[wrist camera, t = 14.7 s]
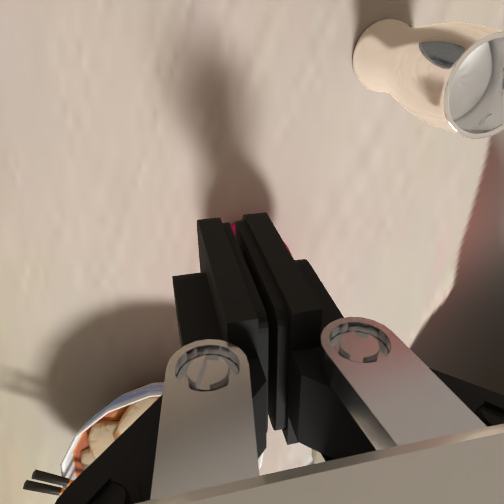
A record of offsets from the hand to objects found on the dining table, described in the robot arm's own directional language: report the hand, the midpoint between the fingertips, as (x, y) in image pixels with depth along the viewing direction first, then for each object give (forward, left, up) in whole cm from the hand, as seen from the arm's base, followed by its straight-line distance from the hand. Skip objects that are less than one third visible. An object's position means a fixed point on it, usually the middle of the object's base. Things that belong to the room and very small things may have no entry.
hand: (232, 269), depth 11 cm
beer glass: (+20, 0, -32) cm, 38 cm away
